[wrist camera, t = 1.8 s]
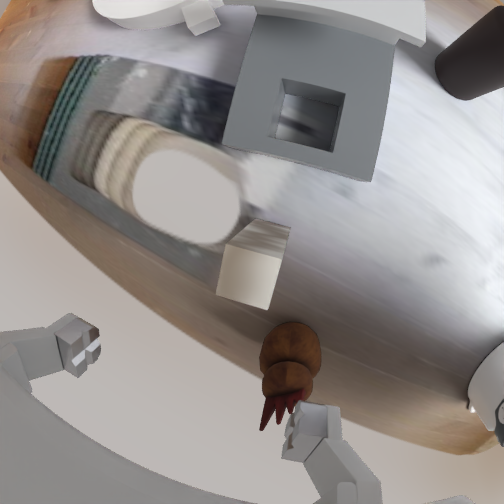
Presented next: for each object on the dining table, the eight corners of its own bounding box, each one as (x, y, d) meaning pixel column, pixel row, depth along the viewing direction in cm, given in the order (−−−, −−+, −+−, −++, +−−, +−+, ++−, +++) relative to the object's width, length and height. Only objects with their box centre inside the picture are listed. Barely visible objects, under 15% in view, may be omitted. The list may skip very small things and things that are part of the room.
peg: (290, 227, 30) (282, 259, 18) (281, 261, 31) (267, 310, 20) (255, 218, 30) (225, 243, 19) (247, 252, 31) (215, 294, 20)
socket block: (383, 56, 22) (424, -7, 9) (360, 181, 27) (406, 185, 14) (266, 28, 24) (240, -45, 10) (234, 149, 29) (179, 129, 15)
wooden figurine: (267, 352, 35) (244, 442, 20) (265, 315, 33) (237, 402, 19) (318, 353, 33) (319, 445, 19) (320, 315, 32) (325, 405, 18)
